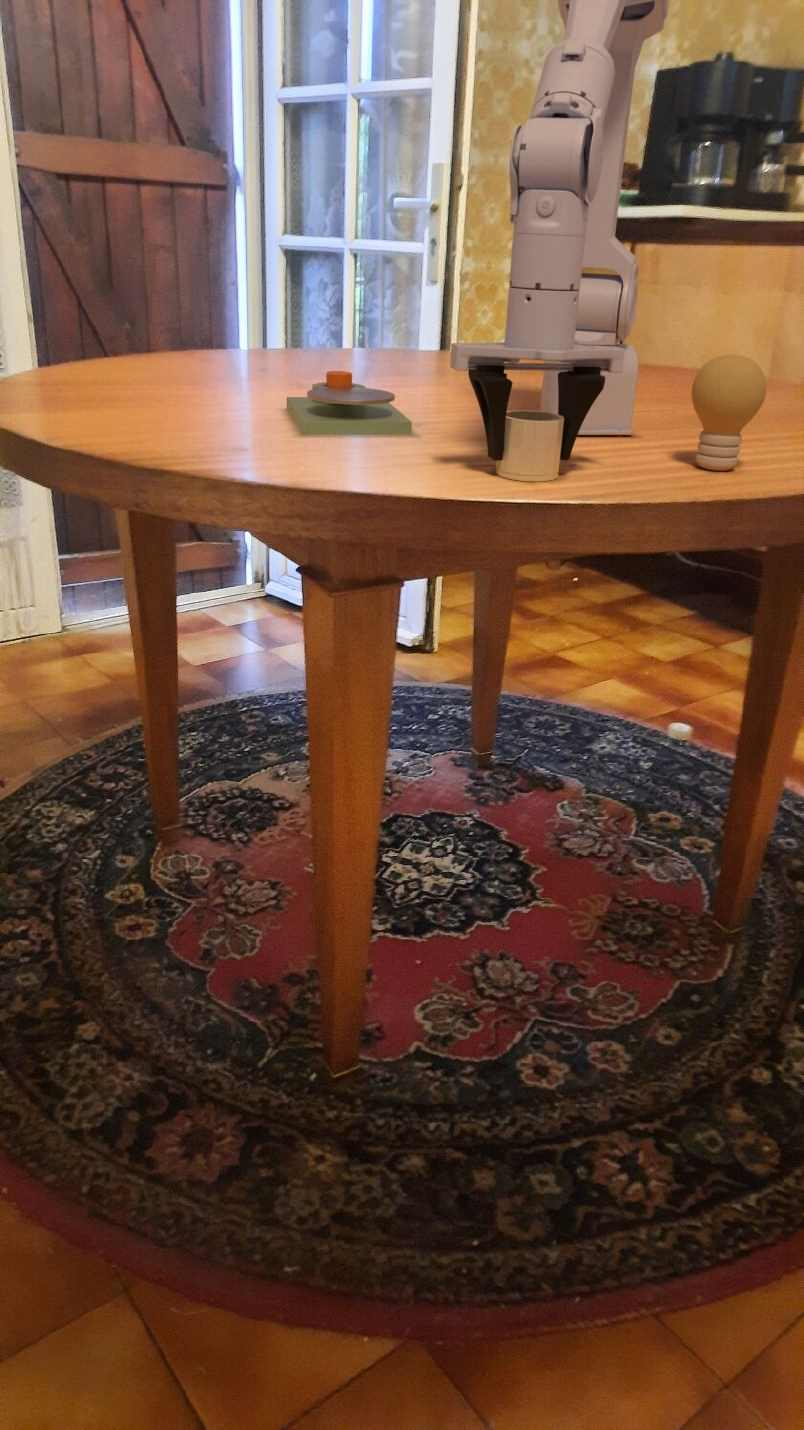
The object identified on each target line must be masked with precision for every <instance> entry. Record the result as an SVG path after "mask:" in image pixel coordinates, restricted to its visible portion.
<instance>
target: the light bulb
mask: <svg viewBox="0 0 804 1430" xmlns="http://www.w3.org/2000/svg"><path fill="white" fill-rule="evenodd" d="M766 395H767V380H766V376H765V373H764V371H763V369H762V368H761V366H760V365H759V364H758V363H757V362H755V360H753V359H751V358H749V357H747V356H744V355H740V354H723V355H719V356H717V357H715V358H712V359H710V360H708V361H707V362H706V363H705V364H703V366H702V367H701V368H700V369H699V371H698V372H697V374H696V376H695V377H694V380H693V381H692V387H691V402H692V406H693V409H694V411H695V414H696V416H697V417H698V419H699V421H700V423H701V425H702V429H703V430H702V431H700V433H699V436H698V439H699V442H698V444H697V453H696V454H695V462H696V463H697V464H698V466H699V467H701V468H703V469H706V470H710V471H723V472H724V471H730V470H732V469H733V468H735V467H736V466H737V465H738V461H739V457H738V455H739V454H740V451H741V447H740V445H741V443H742V441H743V439H742V438H743V436H742V435H741V434H740V433H741V431H742V430H743V428H745V427H746V426H747V424H748V423H750V422H751V420H752V419H753V418H754V417H755V416H756V415H757V414H758V412H759V411H760V409H761V407H762V406H763V404H764V401H765V398H766Z"/></svg>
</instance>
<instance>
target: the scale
mask: <svg viewBox="0 0 804 1430" xmlns="http://www.w3.org/2000/svg"><path fill="white" fill-rule="evenodd" d="M352 387H358V388H367V387H366V386H365V385H364V384H359V383H354V382H352ZM311 388H312V389H317V388H326V381H324V382H316V383H314V384H312V387H311ZM312 389H311V390H312ZM286 410H287V413H288V414H289V415H290V417H291V419H292V420H293V422H294V423H295V425H296V426H297V428H298V430H299V431H300V433H301V435H302V436H412V429H413V422H412V421H411V420H410V419H409V417H407V416H406V415H405V414H403V413H402V412H401V411H400V410H398V409H397V408H396V407H395V406H394V405H392V404H391V402H388V403H383V404H371V405H348V404H334V403H326V402H320V401H315V400H312V399H310V398H308V397H307V396H286Z"/></svg>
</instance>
